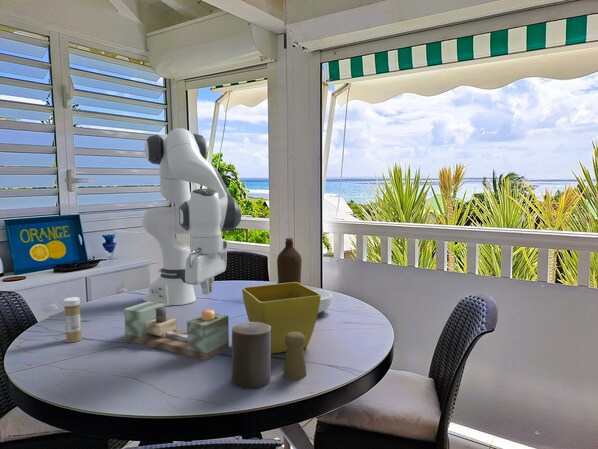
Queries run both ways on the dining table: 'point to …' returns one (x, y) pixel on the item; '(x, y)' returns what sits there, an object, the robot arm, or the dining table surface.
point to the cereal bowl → (324, 300)
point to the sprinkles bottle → (72, 319)
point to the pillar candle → (251, 355)
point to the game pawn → (295, 356)
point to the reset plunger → (208, 315)
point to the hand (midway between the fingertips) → (207, 293)
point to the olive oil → (289, 264)
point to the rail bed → (178, 332)
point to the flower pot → (283, 310)
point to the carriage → (161, 323)
